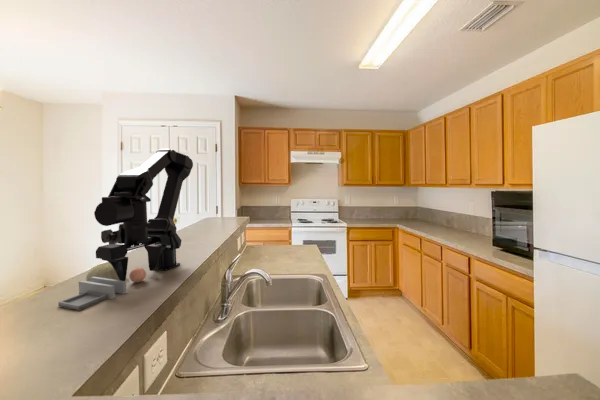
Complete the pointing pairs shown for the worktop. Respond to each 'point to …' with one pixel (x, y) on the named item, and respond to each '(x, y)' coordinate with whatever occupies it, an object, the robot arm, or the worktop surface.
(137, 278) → the ball
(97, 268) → the sea urchin shell
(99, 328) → the worktop surface
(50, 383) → the worktop surface
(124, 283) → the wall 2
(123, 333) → the worktop surface
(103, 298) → the coaster
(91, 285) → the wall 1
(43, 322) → the worktop surface
